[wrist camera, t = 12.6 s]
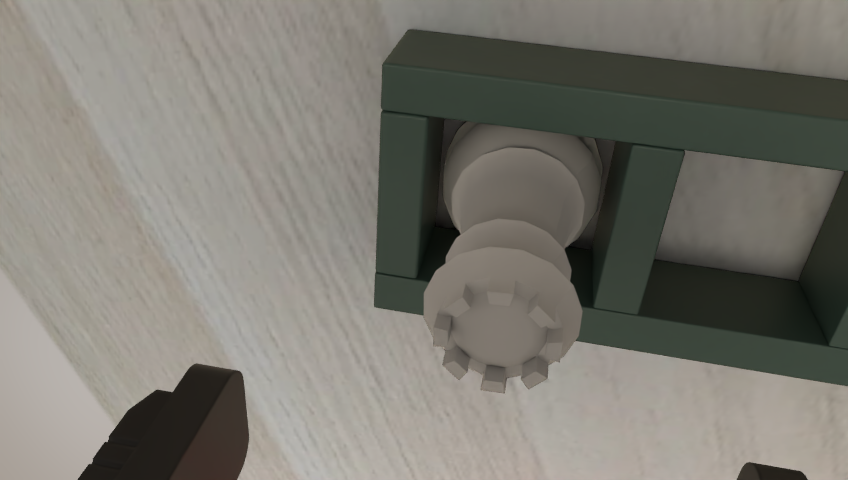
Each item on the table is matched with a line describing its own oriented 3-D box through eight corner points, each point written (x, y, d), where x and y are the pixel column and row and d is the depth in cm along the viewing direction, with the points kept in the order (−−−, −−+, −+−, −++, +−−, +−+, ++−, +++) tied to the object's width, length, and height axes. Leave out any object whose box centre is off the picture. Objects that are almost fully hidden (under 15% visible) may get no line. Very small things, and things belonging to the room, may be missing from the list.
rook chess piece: (555, 63, 19) (543, 207, 12) (629, 196, 20) (656, 389, 14) (417, 139, 20) (340, 300, 14) (495, 254, 22) (459, 451, 15)
